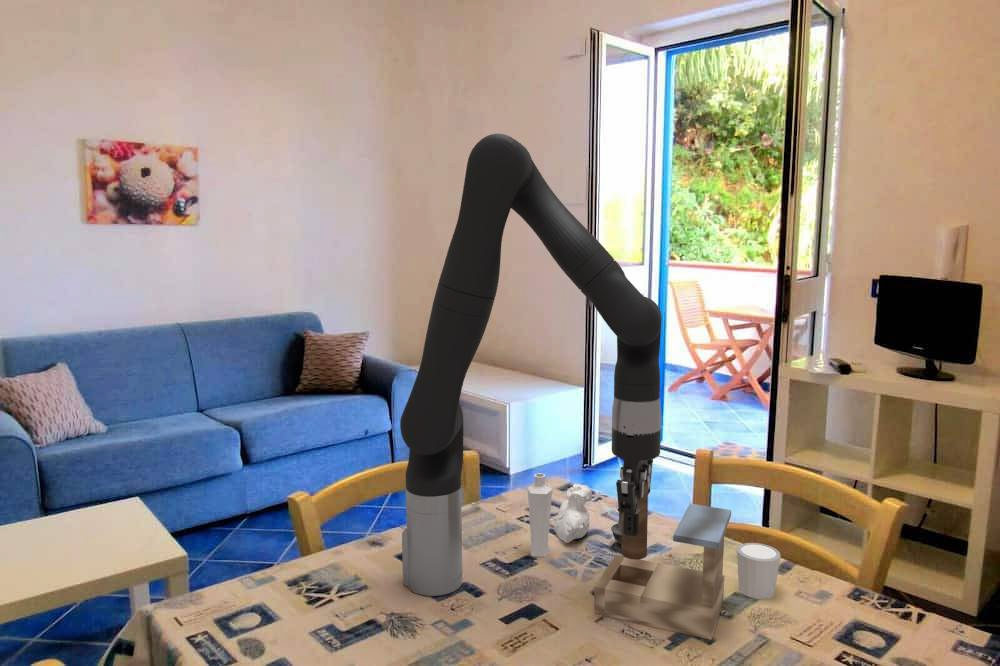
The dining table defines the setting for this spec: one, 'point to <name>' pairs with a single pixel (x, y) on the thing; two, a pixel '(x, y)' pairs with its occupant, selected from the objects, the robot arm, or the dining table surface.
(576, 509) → the bust
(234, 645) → the dining table surface
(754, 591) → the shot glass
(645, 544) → the peg
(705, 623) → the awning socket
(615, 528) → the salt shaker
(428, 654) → the dining table surface
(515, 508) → the dining table surface
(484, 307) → the robot arm
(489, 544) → the dining table surface
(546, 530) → the perfume bottle
